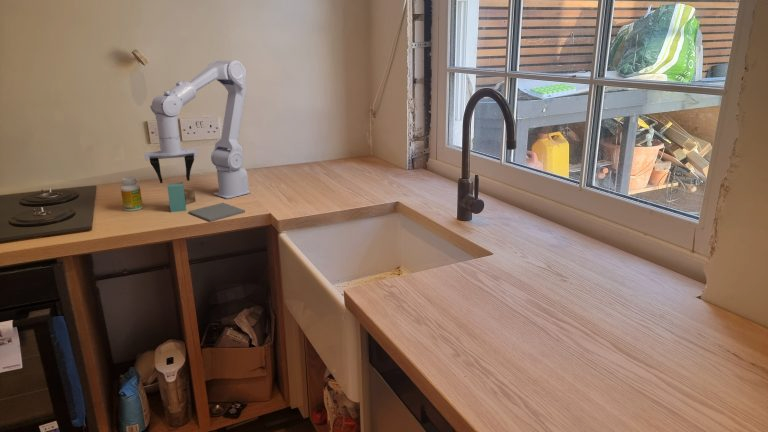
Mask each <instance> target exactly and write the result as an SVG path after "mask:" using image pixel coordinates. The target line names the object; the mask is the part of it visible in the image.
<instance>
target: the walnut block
mask: <svg viewBox="0 0 768 432" xmlns="http://www.w3.org/2000/svg"><path fill="white" fill-rule="evenodd" d="M195 192H196V191H195V189H191V188H184V194H185V202H186V206H188V205H189V204H193V203H196V202H197V201H196V193H195Z"/></svg>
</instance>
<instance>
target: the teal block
mask: <svg viewBox="0 0 768 432" xmlns="http://www.w3.org/2000/svg"><path fill="white" fill-rule="evenodd" d="M166 186H167V187H166V188H167V195H168V201H169V202H168V203H169V209H170V213H177V212H186V211H187V205H186V202H185V194H184V189H185V187H184V182H183V181H181V182H170V183H167V185H166Z"/></svg>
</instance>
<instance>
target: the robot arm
mask: <svg viewBox="0 0 768 432" xmlns="http://www.w3.org/2000/svg"><path fill="white" fill-rule="evenodd" d="M246 76H247V70H246V68H245V67H244V64H242V62H240V61H239V60H235V59H234V60H221V59H216V60H214V61H213V62H210V63H209V64H208V65H207V67H205V68H204V69H202V71H200V72H199V73H198V74H197V75H195V76H194V77H193V78H192V79H191V80H189V81H185V80H182V81H180V80H179V81H177V82H175V84H176V85H175V86H173V87H172V88H171V89H169V90H165V91H164V94H163V95H157V96H155V97H154V98H153V99H152V101H151V105H150V110H151V111H152V113H153V114H154V116H155V119H156V125H157V132H158V142H159V148H160V150H157V151H151V152H144V157H145V161H149V163H150V165H151V166H152V168H153V169H154V171H155V173H156V175H157V177H158V180H159V184H163V178H162V174H161V166H160V159H161V160H163V159H165V160H166V159H175V158H177V159H178V158H184V165H185V177H186V181H188V182H189V181H190V178H191V177H190V176H191V171H192V167H193V164H194V161H195V158H194V157H198V151H197V148H195V149H194V148H193V149H189V148H188V149H182V146H181V145H182V144H181V138H180V131H179V130H180V129H179V122H178V121H179V120H178V115H179V114H180V113H181V109H182V108H183V107H184V106H185V105H186V104H188V103H189V102H191V101H192V100H194V99H195V98H196V96H197V92H198V91H199V90H201V89H202V88H204V87H206V86H207V85H209V84H211V83H212V82H214V81H215V80H216V81H218V83H220V84H221V85H222V86H223V87H224V88H225V89H226V91H227V92H228V94H227V99H226V105H225V112H224V119H223V125H222V130H221V136H220V139H219V140H218V141H217V142H216V143H215V144H214V147H213V148H214V149H213V151H212V152H211V155H210V160H211V163H212V164H213V166H215V169H216V174H217V175H216V176H217V185H218V192H214V193H213V195H215V196H217V197H221V198H224V199H226V200H228V199H232V198H236V197H240V196H244V195H248V194H250V193H251V191H250V189H249V187H250V185H249V177H248V171H247V169H246V168H245V167H243V166H242V165H243V164H244V156H243V151H244V149H243V146H241V144H240V143H239V138H240V132H241V126H242V120H243V113H244V107H245V100H246V95H247V85H246Z"/></svg>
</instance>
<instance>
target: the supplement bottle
mask: <svg viewBox="0 0 768 432" xmlns="http://www.w3.org/2000/svg"><path fill="white" fill-rule="evenodd" d="M121 183H122V185H121V186H120V193H121V200H122V207H123V210H124V211H125V212H135V211H139V210H141V209H143V200H142V198H143V197H142V191H141V187H140V185H139V184H138V183H137V178H136V177H134V176H126V177H123V178H121Z"/></svg>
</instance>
